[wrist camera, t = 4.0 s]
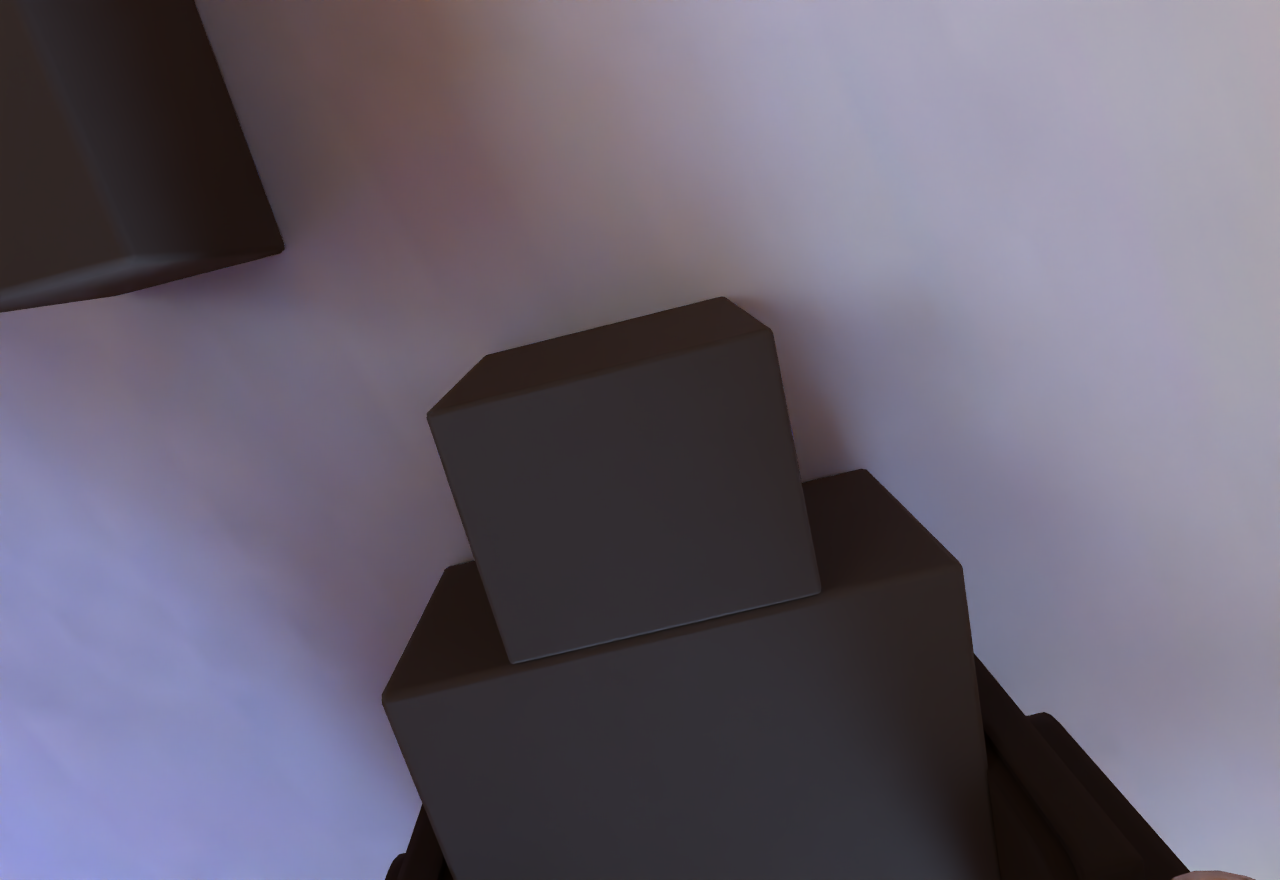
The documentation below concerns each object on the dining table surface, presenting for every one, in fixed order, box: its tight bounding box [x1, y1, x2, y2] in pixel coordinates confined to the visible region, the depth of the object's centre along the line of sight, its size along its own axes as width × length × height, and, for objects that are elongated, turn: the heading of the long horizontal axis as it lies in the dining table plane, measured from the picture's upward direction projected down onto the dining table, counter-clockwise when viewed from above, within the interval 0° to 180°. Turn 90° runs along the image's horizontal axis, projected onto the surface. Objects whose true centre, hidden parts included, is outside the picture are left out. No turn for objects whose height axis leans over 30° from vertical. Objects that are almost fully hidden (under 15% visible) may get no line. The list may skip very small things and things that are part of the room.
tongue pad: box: [382, 297, 1001, 880], centre depth 9 cm, size 6×11×3 cm, turn 14°
